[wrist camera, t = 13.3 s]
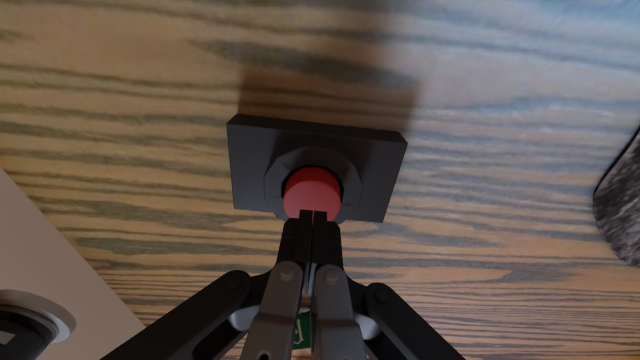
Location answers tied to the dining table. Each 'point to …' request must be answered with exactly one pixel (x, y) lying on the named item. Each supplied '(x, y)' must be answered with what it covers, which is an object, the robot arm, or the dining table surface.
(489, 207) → the dining table surface
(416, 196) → the dining table surface
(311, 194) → the button
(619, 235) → the worn metal disc
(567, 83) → the dining table surface
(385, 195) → the black switch housing
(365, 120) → the dining table surface
